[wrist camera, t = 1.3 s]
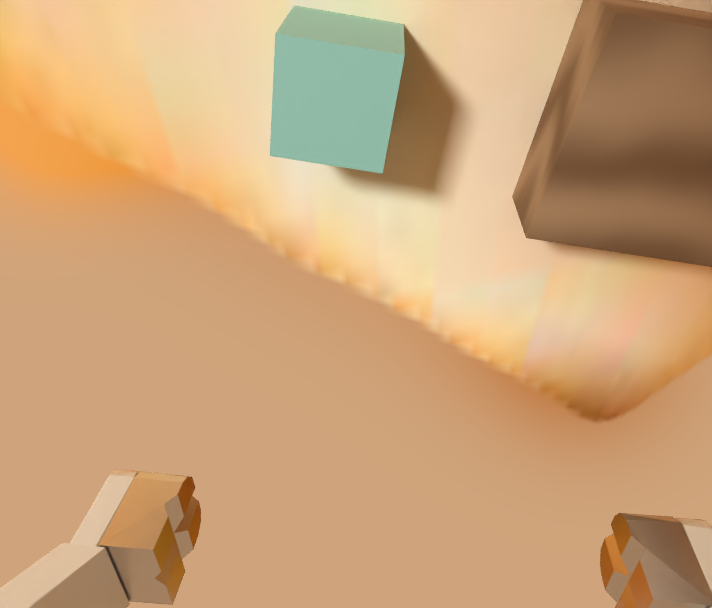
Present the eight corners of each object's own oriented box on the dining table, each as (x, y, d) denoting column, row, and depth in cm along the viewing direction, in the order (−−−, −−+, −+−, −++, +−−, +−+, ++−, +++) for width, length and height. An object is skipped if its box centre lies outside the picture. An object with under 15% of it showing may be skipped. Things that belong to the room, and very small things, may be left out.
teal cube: (294, 5, 30) (275, 33, 25) (403, 23, 30) (404, 55, 26) (287, 113, 34) (269, 155, 29) (384, 129, 34) (382, 173, 29)
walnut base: (586, -9, 29) (616, 12, 25) (807, 30, 29) (870, 57, 25) (512, 196, 36) (526, 237, 32) (689, 224, 37) (723, 268, 33)
